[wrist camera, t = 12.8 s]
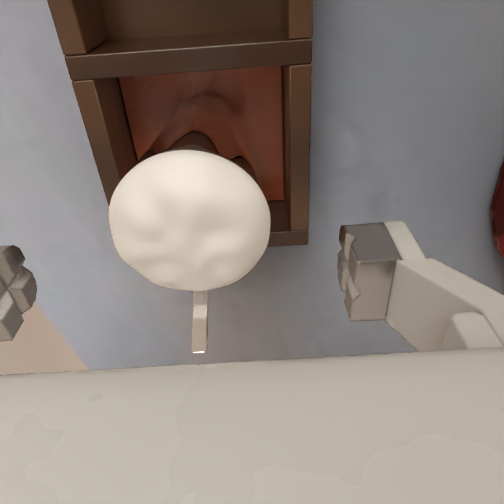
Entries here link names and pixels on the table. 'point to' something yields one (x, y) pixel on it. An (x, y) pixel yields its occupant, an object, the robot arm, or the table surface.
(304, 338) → the table surface
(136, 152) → the compartment tray
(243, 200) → the milkshake
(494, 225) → the hourglass
